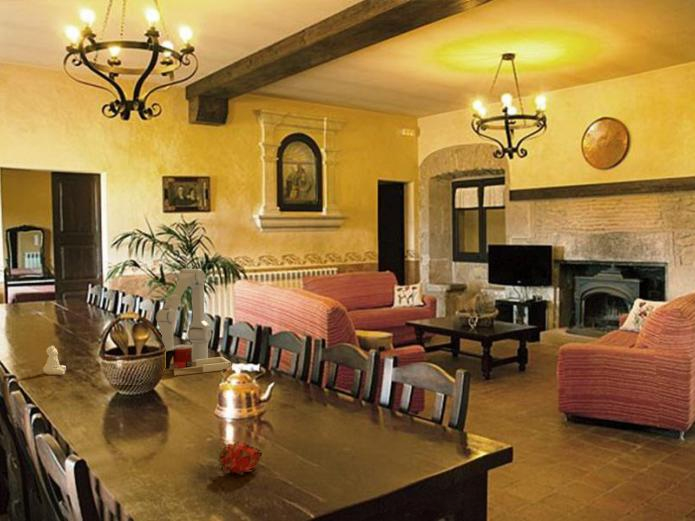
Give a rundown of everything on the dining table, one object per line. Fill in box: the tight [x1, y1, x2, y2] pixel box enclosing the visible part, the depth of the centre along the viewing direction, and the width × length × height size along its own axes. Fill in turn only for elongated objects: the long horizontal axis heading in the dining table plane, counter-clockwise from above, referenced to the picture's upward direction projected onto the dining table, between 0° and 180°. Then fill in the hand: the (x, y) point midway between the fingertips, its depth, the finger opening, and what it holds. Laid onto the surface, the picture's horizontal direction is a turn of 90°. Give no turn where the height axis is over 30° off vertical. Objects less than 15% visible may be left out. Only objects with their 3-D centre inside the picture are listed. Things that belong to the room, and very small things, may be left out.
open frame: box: [195, 356, 232, 373], centre depth 266 cm, size 13×12×3 cm
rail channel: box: [167, 361, 204, 377], centre depth 260 cm, size 13×12×2 cm
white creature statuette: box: [42, 345, 67, 376], centre depth 257 cm, size 10×9×12 cm
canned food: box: [172, 344, 192, 369], centre depth 260 cm, size 8×8×11 cm
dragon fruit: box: [218, 441, 263, 476], centre depth 152 cm, size 8×8×12 cm
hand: (167, 368), depth 257 cm, fingers closed
